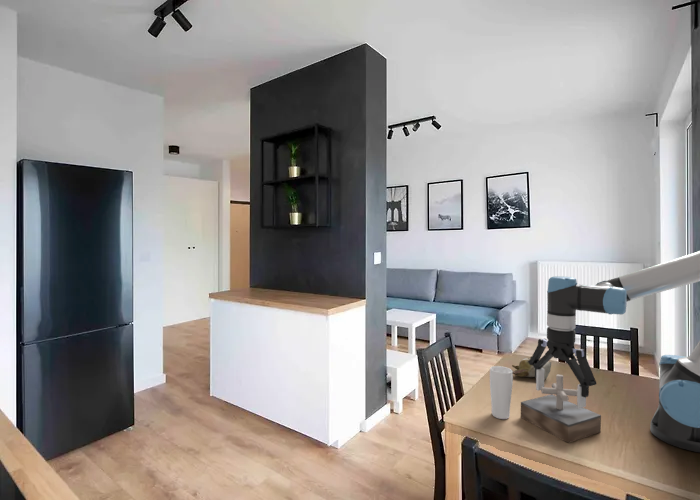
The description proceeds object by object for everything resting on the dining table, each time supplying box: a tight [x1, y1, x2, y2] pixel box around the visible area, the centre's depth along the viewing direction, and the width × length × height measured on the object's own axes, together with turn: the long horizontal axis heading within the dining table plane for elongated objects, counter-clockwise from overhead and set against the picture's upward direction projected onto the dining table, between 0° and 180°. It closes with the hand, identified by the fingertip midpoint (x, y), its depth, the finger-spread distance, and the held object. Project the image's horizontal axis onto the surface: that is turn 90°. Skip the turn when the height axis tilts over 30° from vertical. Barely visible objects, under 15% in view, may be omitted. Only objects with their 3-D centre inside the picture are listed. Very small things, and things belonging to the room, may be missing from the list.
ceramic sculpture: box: [511, 356, 552, 380], centre depth 154 cm, size 11×9×15 cm
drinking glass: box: [489, 365, 514, 420], centre depth 120 cm, size 7×7×15 cm
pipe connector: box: [540, 373, 577, 410], centre depth 114 cm, size 10×10×10 cm
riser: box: [520, 394, 602, 443], centre depth 115 cm, size 16×14×5 cm
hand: (559, 397), depth 114 cm, fingers open, 13 cm apart
